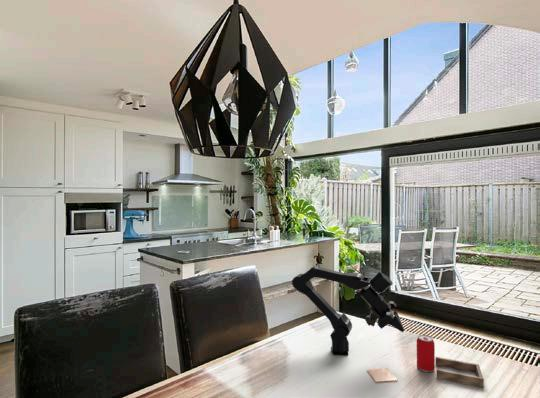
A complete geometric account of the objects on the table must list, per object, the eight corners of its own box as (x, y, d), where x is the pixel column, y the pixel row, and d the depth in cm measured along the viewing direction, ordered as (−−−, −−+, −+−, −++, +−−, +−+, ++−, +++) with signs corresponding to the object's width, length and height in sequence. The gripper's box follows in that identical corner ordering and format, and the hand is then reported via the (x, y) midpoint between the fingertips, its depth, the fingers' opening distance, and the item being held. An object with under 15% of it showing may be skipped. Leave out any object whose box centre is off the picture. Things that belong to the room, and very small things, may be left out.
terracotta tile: (376, 384, 116) (375, 381, 116) (367, 372, 124) (367, 369, 124) (397, 382, 116) (397, 380, 116) (387, 371, 124) (387, 368, 124)
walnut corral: (436, 378, 118) (436, 369, 118) (435, 364, 128) (435, 356, 128) (483, 387, 112) (483, 379, 112) (478, 372, 122) (478, 364, 122)
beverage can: (433, 366, 127) (433, 335, 127) (435, 374, 121) (435, 342, 121) (415, 363, 129) (415, 333, 129) (417, 371, 123) (417, 339, 123)
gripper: (363, 304, 144) (390, 334, 139) (355, 319, 127) (385, 353, 122) (382, 289, 140) (410, 318, 135) (376, 301, 123) (408, 336, 119)
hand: (403, 331), depth 128 cm, fingers closed
